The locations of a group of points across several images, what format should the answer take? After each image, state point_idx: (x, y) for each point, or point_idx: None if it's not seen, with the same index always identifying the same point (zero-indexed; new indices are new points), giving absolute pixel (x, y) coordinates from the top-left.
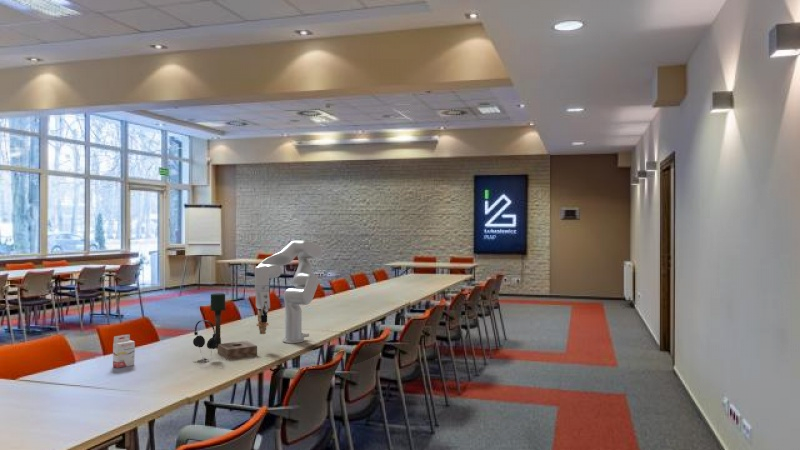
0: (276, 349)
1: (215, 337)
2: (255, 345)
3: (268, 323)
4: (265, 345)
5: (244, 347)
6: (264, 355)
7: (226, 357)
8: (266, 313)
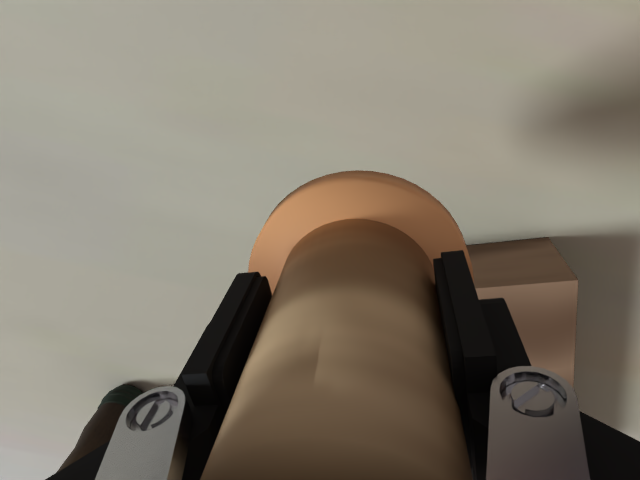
0: (385, 2)
1: None
2: (548, 289)
3: (392, 185)
4: (152, 74)
5: (572, 386)
6: (594, 181)
7: None
8: (630, 448)
